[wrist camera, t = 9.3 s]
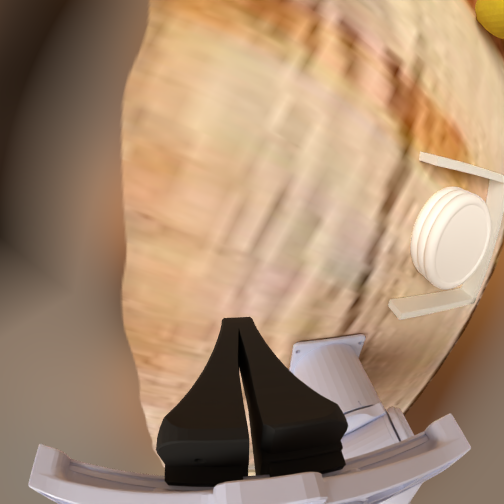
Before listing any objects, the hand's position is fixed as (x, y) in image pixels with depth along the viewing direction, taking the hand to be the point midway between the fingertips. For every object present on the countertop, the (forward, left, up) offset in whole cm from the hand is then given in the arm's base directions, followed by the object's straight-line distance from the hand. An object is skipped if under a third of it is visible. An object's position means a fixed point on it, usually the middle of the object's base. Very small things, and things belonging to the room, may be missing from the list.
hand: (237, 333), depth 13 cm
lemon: (+27, -26, -10) cm, 39 cm away
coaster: (+1, -22, -10) cm, 24 cm away
